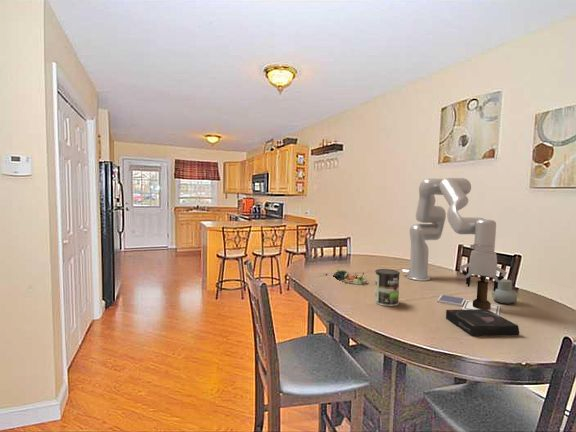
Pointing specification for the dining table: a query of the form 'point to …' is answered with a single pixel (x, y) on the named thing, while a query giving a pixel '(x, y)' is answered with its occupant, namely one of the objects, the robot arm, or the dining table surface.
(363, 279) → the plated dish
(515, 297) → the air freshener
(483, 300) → the brown wooden tall piece
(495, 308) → the paper sheet
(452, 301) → the pad
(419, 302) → the dining table surface
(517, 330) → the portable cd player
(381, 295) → the coffee can
